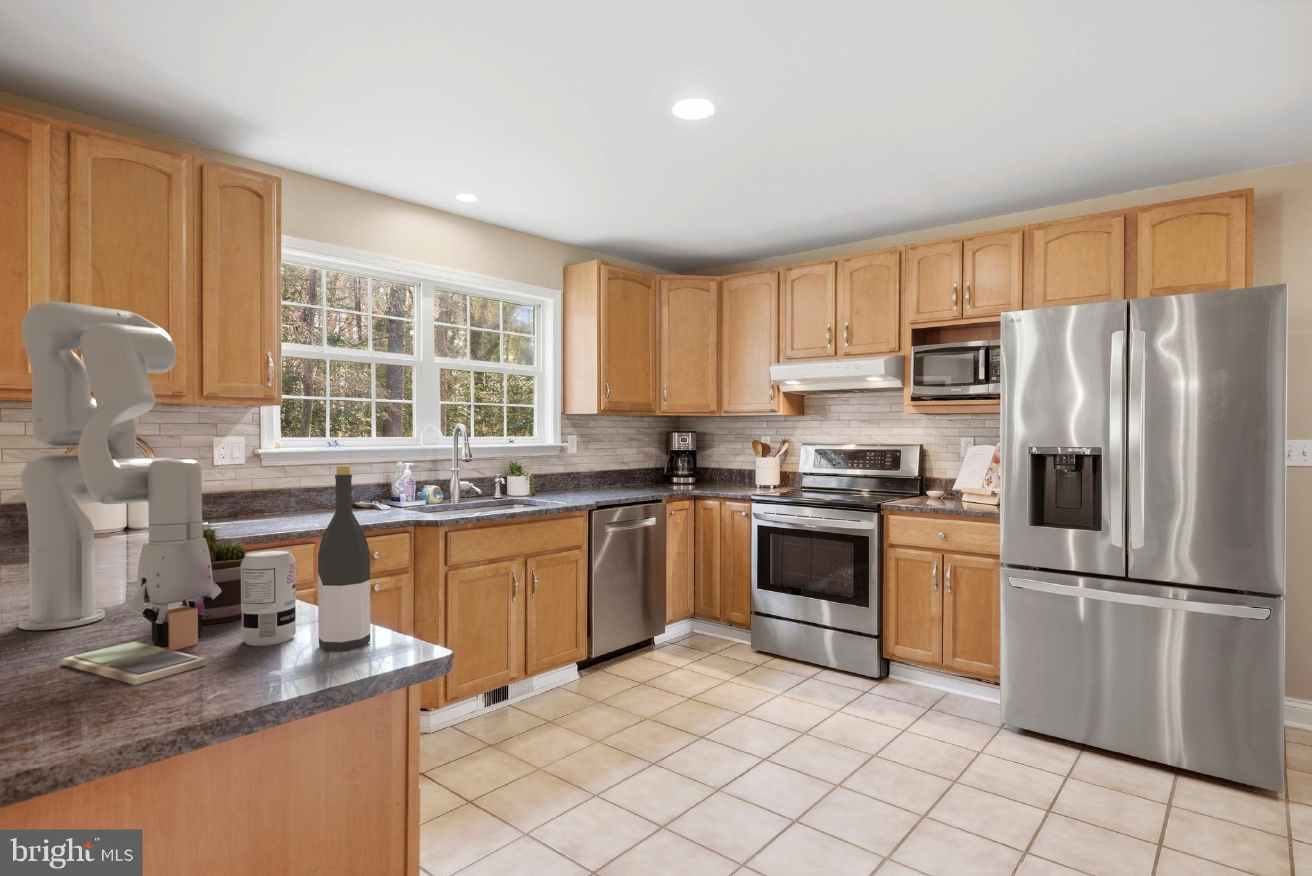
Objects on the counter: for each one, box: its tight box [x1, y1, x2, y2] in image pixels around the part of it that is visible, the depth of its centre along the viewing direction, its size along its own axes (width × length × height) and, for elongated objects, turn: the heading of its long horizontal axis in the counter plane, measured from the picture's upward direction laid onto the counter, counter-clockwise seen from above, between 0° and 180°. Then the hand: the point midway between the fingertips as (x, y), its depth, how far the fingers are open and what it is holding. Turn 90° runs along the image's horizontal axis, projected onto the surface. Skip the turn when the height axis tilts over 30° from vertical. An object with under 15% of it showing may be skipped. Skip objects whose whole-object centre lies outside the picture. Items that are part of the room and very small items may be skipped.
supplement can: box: [240, 549, 297, 647], centre depth 125 cm, size 8×8×15 cm
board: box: [62, 641, 208, 686], centre depth 112 cm, size 20×10×1 cm, turn 62°
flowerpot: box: [179, 519, 248, 625], centre depth 141 cm, size 14×15×20 cm
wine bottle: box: [317, 465, 371, 652], centre depth 123 cm, size 8×8×30 cm
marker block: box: [153, 605, 199, 651], centre depth 123 cm, size 4×4×6 cm
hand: (177, 641), depth 122 cm, fingers closed on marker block, 4 cm apart
